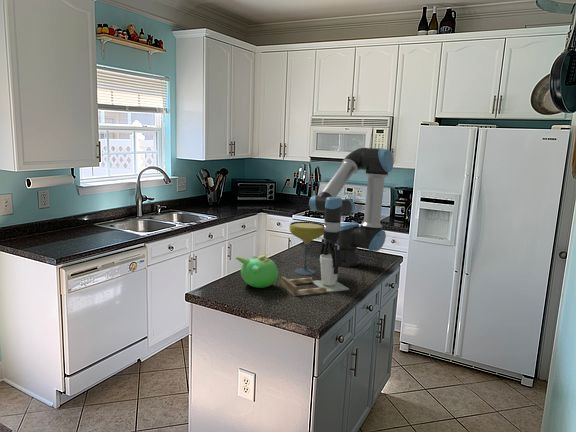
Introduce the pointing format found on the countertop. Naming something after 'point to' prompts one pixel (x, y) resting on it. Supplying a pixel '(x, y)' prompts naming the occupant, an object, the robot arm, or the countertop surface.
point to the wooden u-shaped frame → (294, 290)
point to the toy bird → (258, 271)
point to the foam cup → (326, 269)
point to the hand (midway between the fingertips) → (328, 276)
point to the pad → (330, 286)
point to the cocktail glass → (306, 238)
